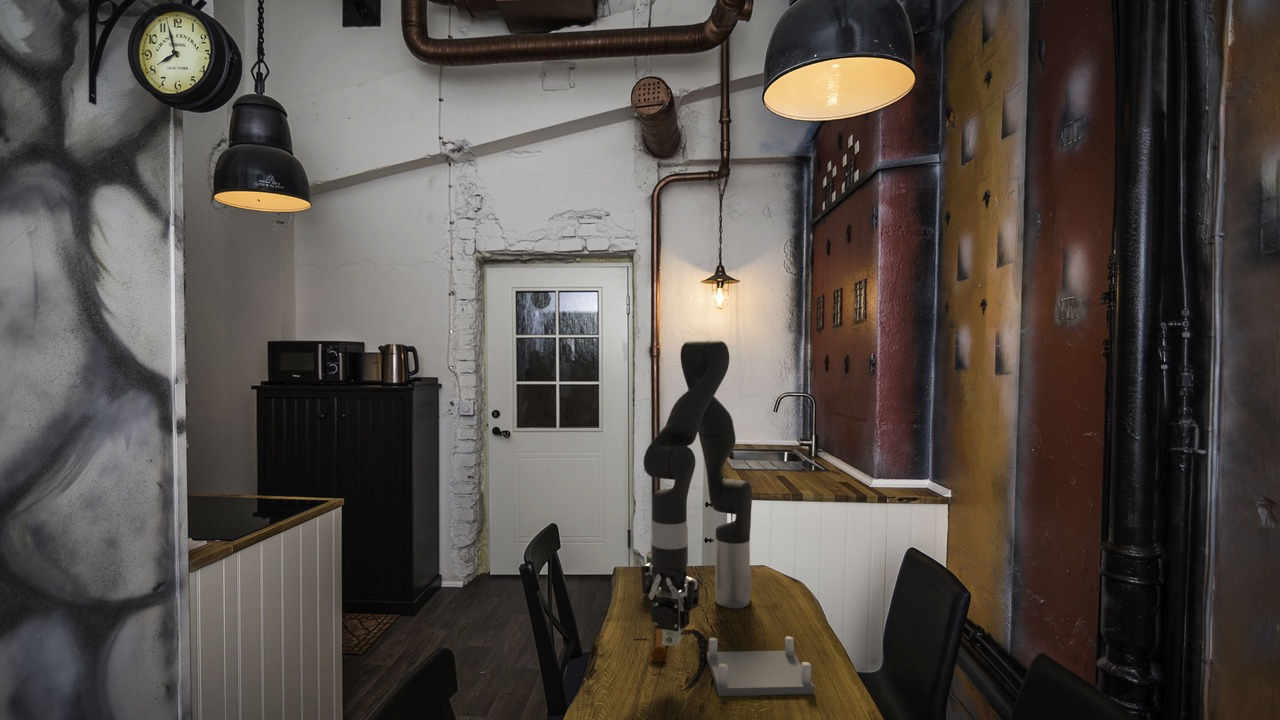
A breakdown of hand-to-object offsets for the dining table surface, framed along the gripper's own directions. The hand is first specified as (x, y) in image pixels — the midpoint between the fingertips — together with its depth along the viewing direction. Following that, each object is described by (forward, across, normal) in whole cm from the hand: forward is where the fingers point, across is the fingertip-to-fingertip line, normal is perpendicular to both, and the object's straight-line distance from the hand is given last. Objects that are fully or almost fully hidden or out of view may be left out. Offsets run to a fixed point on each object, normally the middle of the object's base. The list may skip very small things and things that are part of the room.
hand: (669, 621), depth 119 cm
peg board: (+12, -13, -13) cm, 22 cm away
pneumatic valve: (+5, 0, 0) cm, 5 cm away
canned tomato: (+12, +29, -32) cm, 45 cm away
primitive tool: (+13, +11, -11) cm, 20 cm away
